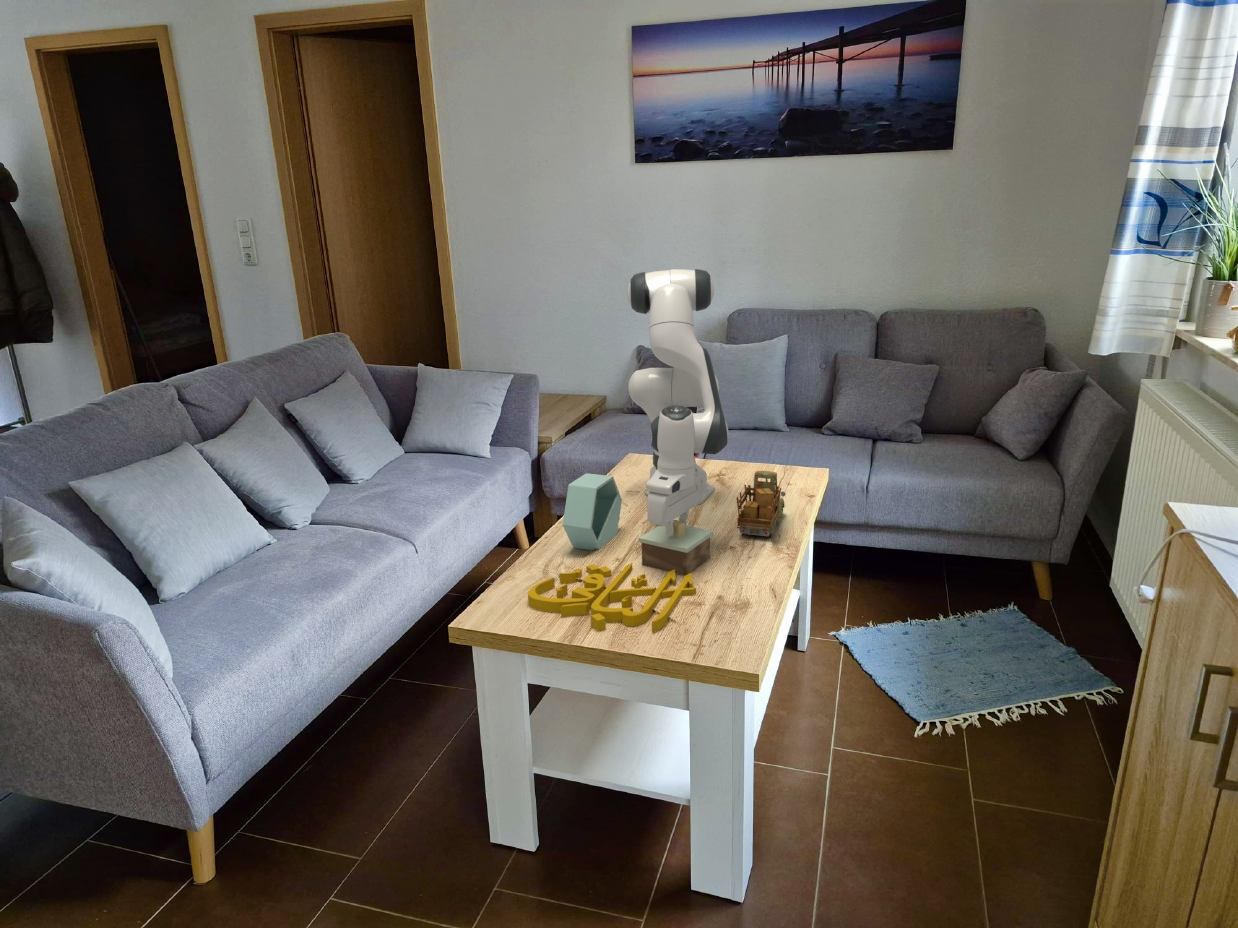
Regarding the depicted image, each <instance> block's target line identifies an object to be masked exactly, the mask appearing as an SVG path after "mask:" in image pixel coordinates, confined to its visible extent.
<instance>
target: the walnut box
mask: <svg viewBox="0 0 1238 928" xmlns="http://www.w3.org/2000/svg"><path fill="white" fill-rule="evenodd" d="M710 559H711V537H709V538H708V539H706V540H705V541H703V542H702V543H701V544H699V545H698V546H696V547H695V548H693V549H692V550H690V551H689V552H687V553H685V552H681V551H677V550H672V549H668V548H663V547H659V546H655V545H650V544H646V543H642V542H641V565H642V566H644V567H647V568H653V569H655V570H656V569H657V570H660V571H665V572H667V573H668V572H670V571H672V570H674V569H675V575H676V574H677V575H681V576H683V577H684V576H685V575H688V574H690V573H692V572H694V570H696V569H698V568H699V567H700V566H702V565H703V564H704V563H706V562H707V561H708V560H710Z"/></svg>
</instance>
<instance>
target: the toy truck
mask: <svg viewBox="0 0 1238 928" xmlns="http://www.w3.org/2000/svg"><path fill="white" fill-rule="evenodd" d="M753 476H754V477H753V487H751V484H748V485H747V484H744V486H743V487H744V492H743V493H742V491H739V496H736V506H737V514H738V516H737V518H736V521H737V526H736V529H739V533H740V534H741V535H742V536H748V535H751V536H753V535H754V536H761V537H763V536H764V537H766V539H770V540H772V538H773V537H774V536H773V535H774V530H775V529H776V525H777V524H780V522H781V521H782V520H783V518H782V517H783V514H784V508H785V501H784V499H783V498H781V496H782V497H786V492H785V491H782V487H779V485H778V472H776V471H770V470H757V471H755V472H754V474H753ZM758 479H764V480H765V481H763V480H762V481H761V480H758ZM768 479H769V481H768Z"/></svg>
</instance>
